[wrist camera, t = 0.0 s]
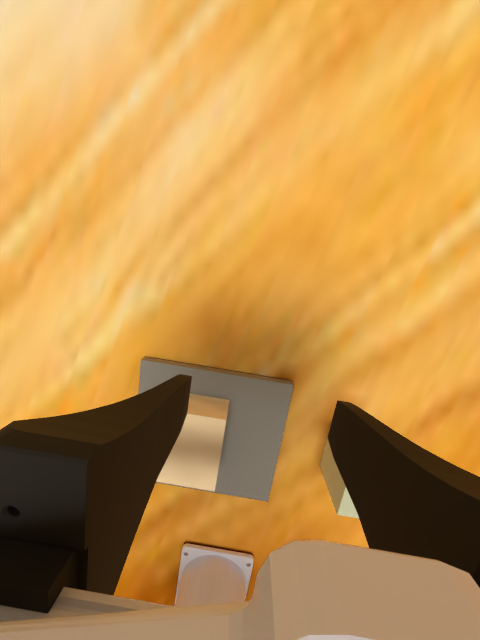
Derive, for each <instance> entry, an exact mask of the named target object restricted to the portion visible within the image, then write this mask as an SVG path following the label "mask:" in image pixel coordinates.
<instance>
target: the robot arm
mask: <svg viewBox="0 0 480 640" xmlns="http://www.w3.org/2000/svg"><path fill="white" fill-rule="evenodd" d="M191 380H192V376H189V375H183V374H179V375H176V376H175V377H173V378H171V379H169V380H167V381H165V382H163V383H161V384H159V385H158V386H156V387H154V388H152V389H149V390H147V391H145V392H143V393H141V394H138V395H136V396H134V397H131V398H129V399H126V400H123V401H120V402H117V403H114V404H111V405H107V406H103V407H99V408H96V409H92V410H88V411H83V412H78V413H73V414H67V415H61V416H55V417H47V418H38V419H29V420H19V421H13V422H12V423H10V424H9V425H7V426H5V427H4V428H2V429H1V430H0V640H480V477H478V476H476V475H474V474H472V473H470V472H468V471H465V470H463V469H461V468H459V467H457V466H455V465H453V464H451V463H449V462H447V461H445V460H443V459H441V458H440V457H438V456H436V455H434V454H432V453H430V452H429V451H427V450H425V449H423V448H421V447H420V446H418V445H416V444H415V443H413V442H411V441H410V440H408V439H407V438H405V437H403V436H402V435H400V434H399V433H397V432H395V431H394V430H392V429H391V428H389V427H388V426H386V425H385V424H383V423H382V422H380V421H379V420H377V419H376V418H374V417H373V416H371V415H370V414H368V413H367V412H365V411H364V410H362V409H361V408H359V407H357V406H355V405H354V404H352V403H349V402H343V401H337V404H336V408H335V412H334V415H333V419H332V422H331V426H330V430H329V433H328V441H329V444H330V448H331V451H332V455H333V458H334V460H335V463H336V465H337V467H338V470H339V472H340V475H341V477H342V479H343V481H344V484H345V486H346V488H347V490H348V493H349V495H350V497H351V500H352V502H353V504H354V506H355V509H356V511H357V514H358V516H359V519H360V521H361V524H362V527H363V530H364V533H365V536H366V539H367V542H368V545H369V548H365V547H359V546H354V545H348V544H342V543H336V542H331V541H325V540H294V541H292V542H290V543H288V544H286V545H284V546H282V547H280V548H278V549H276V550H274V551H272V552H271V553H270V554H269V556H268V557H267V559H266V561H265V562H264V564H263V565H262V567H261V568H260V570H259V572H258V573H257V578H256V582H255V586H254V590H253V595H252V597H251V600H250V601H245V599H246V594H247V590H248V585H249V581H250V577H251V572H252V568H253V563H254V557H253V556H252V555H251V554H246V553H240V552H234V551H229V550H223V549H217V548H211V547H206V546H200V545H194V544H188V543H186V544H184V545H183V548H182V554H181V561H180V568H179V576H178V583H177V590H176V597H175V606H169V605H163V604H158V603H152V602H146V601H141V600H135V599H130V598H124V597H118V596H113V595H114V592H115V589H116V586H117V584H118V581H119V578H120V575H121V572H122V570H123V567H124V564H125V561H126V559H127V556H128V553H129V550H130V548H131V545H132V542H133V540H134V537H135V534H136V532H137V529H138V526H139V524H140V521H141V518H142V516H143V513H144V510H145V508H146V505H147V503H148V500H149V498H150V495H151V493H152V490H153V488H154V485H155V483H156V481H157V478H158V476H159V474H160V472H161V470H162V468H163V466H164V464H165V462H166V460H167V458H168V456H169V454H170V452H171V450H172V448H173V446H174V444H175V442H176V440H177V438H178V436H179V434H180V432H181V430H182V427H183V424H184V421H185V418H186V416H187V412H188V404H189V396H190V388H191Z"/></svg>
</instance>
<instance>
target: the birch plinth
mask: <svg viewBox="0 0 480 640" xmlns="http://www.w3.org/2000/svg"><path fill="white" fill-rule="evenodd" d="M229 401H230V400H227V399H221V398H215V397H209V396H203V395H197V394H191V393H190V396H189V404H188V412H187V416H186V418H185V421H184V424H183V427H182V430H181V432H180V434H179V436H178V438H177V440H176V442H175V444H174V446H173V448H172V450H171V452H170V454H169V456H168V458H167V460H166V462H165V464H164V466H163V468H162V470H161V472H160V474H159V476H158V478H157V481H156V482H161V483H167V484H173V485H179V486H185V487H191V488H196V489H202V490H208V491H214V492H215V486H216V480H217V474H218V468H219V462H220V456H221V450H222V444H223V438H224V432H225V426H226V420H227V413H228V407H229Z"/></svg>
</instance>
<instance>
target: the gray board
mask: <svg viewBox="0 0 480 640" xmlns="http://www.w3.org/2000/svg"><path fill="white" fill-rule="evenodd" d="M179 374H183V375H189V376H192V380H191V388H190V393H191V394H197V395H203V396H209V397H215V398H221V399H227V400H230V401H229V407H228V413H227V420H226V426H225V432H224V438H223V444H222V450H221V456H220V462H219V468H218V474H217V480H216V486H215V492H214V491H208V490H203V491H208V492H214V493H220V494H226V495H232V496H238V497H243V498H249V499H255V500H261V501H267V502H268V499H269V495H270V490H271V486H272V481H273V477H274V472H275V468H276V464H277V459H278V455H279V450H280V446H281V441H282V437H283V432H284V428H285V423H286V419H287V414H288V410H289V406H290V401H291V397H292V392H293V388H294V384H293V381H289V380H283V379H277V378H271V377H265V376H259V375H253V374H247V373H241V372H235V371H229V370H223V369H217V368H211V367H205V366H199V365H193V364H187V363H181V362H175V361H169V360H163V359H157V358H151V357H144V358H143V359H141V367H140V381H139V394H141V393H143V392H145V391H147V390H149V389H152V388H154V387H156V386H158V385H159V384H161V383H163V382H165V381H167V380H169V379H171V378H173V377H175V376H176V375H179ZM156 483H161V482H156ZM162 484H167V483H162ZM168 485H173V484H168ZM173 486H179V485H173ZM179 487H185V486H179ZM185 488H191V487H185ZM191 489H196V488H191ZM197 490H202V489H197Z"/></svg>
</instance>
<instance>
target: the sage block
mask: <svg viewBox="0 0 480 640" xmlns="http://www.w3.org/2000/svg"><path fill="white" fill-rule="evenodd" d="M330 426H331V424H330ZM329 430H330V428H329ZM328 433H329V432H328ZM320 468H321V471H322V473H323V476H324V479H325V482H326V485H327V487H328V490H329V493H330V496H331V499H332V501H333V504H334V507H335V510H336V512H337V515H342V516H348V517H353V518H359V516H358V514H357V511H356V509H355V506H354V504H353V502H352V500H351V497H350V495H349V493H348V490H347V488H346V486H345V484H344V481H343V479H342V477H341V475H340V472H339V470H338V467H337V465H336V463H335V460H334V458H333V455H332V451H331V448H330V444H329V441H328V436H327V439H326V443H325V447H324V450H323V454H322V458H321V461H320Z"/></svg>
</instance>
